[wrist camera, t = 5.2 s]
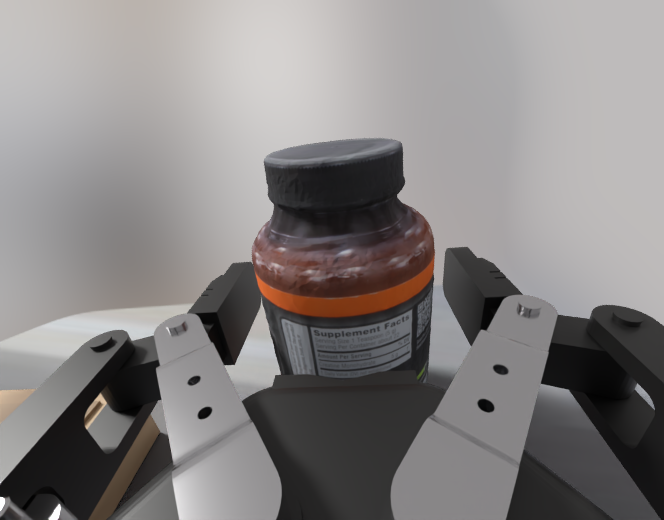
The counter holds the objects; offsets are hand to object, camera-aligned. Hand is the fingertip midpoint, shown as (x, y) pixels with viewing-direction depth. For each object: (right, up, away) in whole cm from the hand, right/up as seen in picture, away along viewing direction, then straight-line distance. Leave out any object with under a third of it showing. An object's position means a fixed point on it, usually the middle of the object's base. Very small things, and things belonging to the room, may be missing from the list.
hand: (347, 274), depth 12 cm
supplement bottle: (+1, -6, +1) cm, 6 cm away
